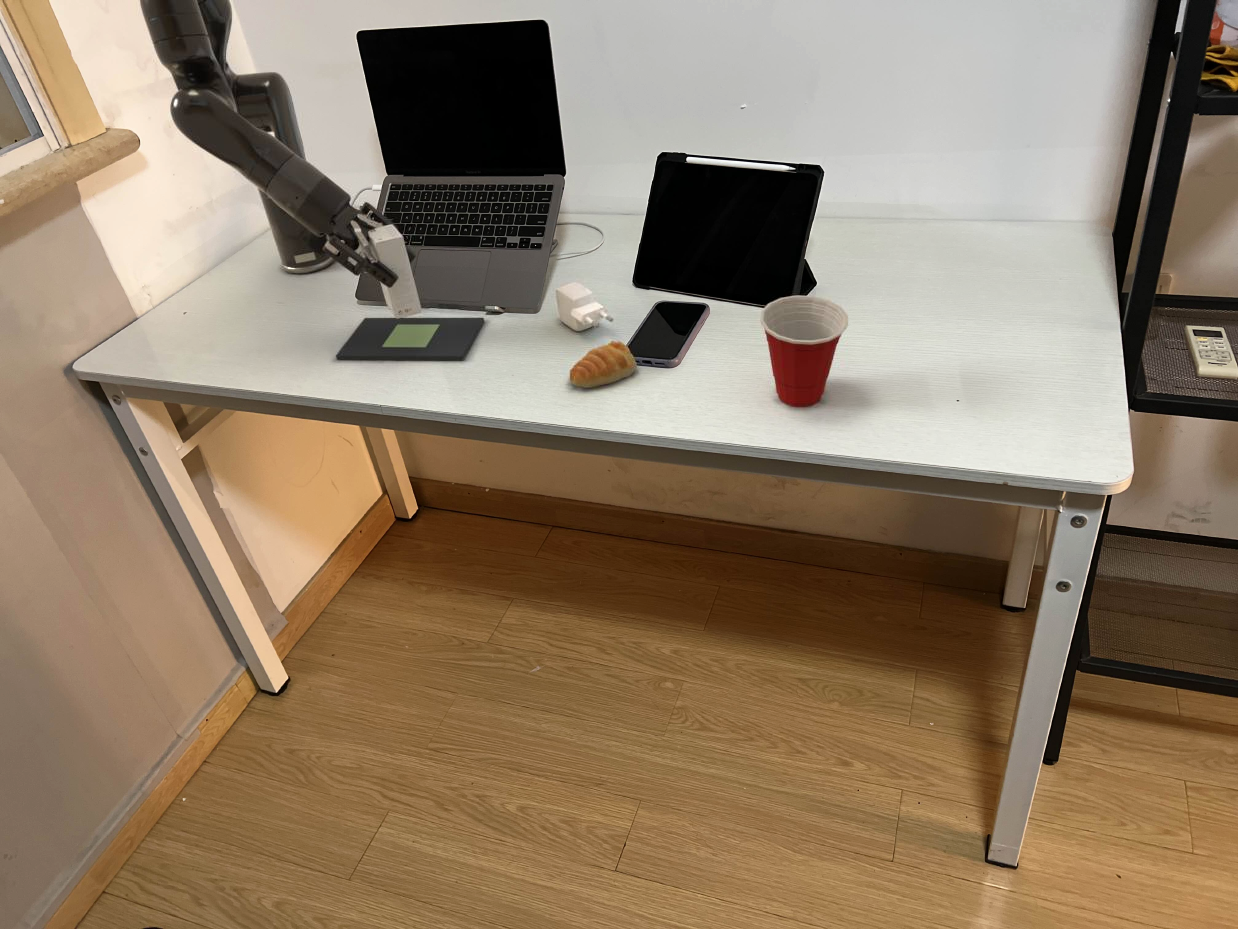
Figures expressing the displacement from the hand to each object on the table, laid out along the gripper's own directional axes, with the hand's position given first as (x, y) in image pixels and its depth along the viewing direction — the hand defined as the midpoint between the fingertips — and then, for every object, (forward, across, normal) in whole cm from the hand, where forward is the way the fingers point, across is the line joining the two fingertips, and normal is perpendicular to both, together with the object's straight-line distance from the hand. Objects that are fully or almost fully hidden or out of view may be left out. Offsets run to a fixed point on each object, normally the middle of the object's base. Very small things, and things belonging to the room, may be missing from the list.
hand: (403, 271), depth 135 cm
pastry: (+30, -9, -13) cm, 34 cm away
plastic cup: (+49, -14, -33) cm, 61 cm away
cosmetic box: (+3, 0, +6) cm, 6 cm away
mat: (+7, 0, +9) cm, 12 cm away
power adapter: (+26, +4, -10) cm, 28 cm away
